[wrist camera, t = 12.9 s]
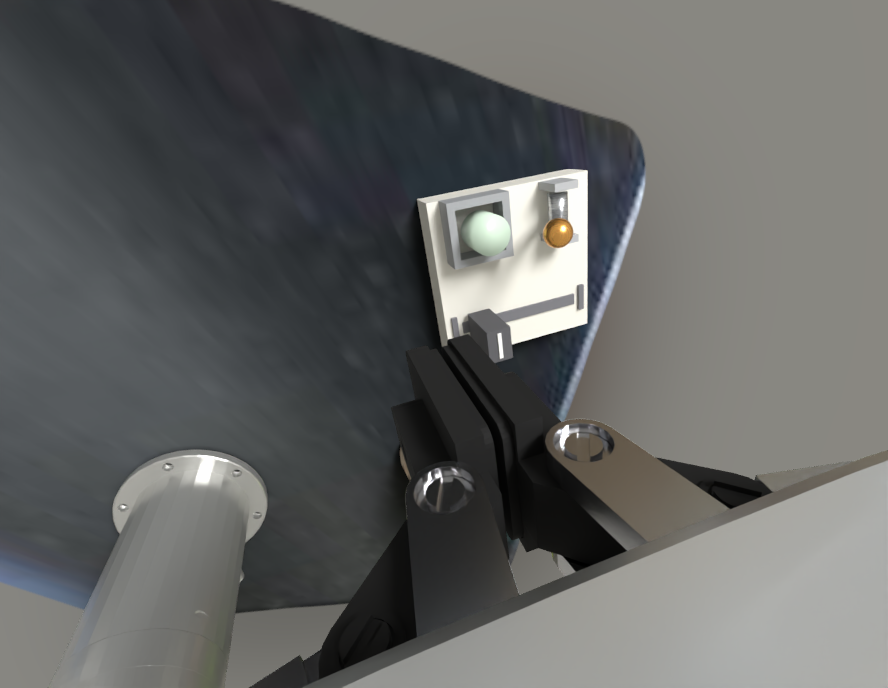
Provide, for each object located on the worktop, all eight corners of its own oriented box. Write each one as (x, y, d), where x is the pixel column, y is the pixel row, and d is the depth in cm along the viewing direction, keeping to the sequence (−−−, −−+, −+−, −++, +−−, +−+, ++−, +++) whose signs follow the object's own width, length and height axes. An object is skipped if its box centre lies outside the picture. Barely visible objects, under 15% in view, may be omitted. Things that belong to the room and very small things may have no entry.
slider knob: (492, 336, 39) (513, 358, 35) (471, 342, 39) (490, 364, 35) (489, 308, 38) (510, 327, 34) (467, 313, 37) (487, 333, 33)
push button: (498, 244, 34) (512, 251, 32) (463, 253, 34) (474, 260, 32) (495, 206, 33) (508, 210, 31) (458, 214, 33) (469, 219, 30)
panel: (570, 312, 45) (603, 333, 40) (442, 348, 42) (460, 374, 37) (567, 168, 38) (606, 172, 33) (416, 199, 36) (435, 207, 31)
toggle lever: (570, 226, 36) (574, 257, 29) (546, 228, 37) (543, 260, 29) (570, 189, 35) (573, 212, 27) (544, 192, 35) (541, 215, 28)
